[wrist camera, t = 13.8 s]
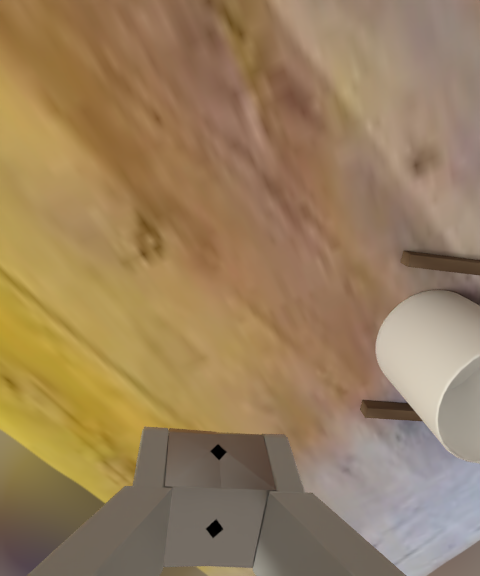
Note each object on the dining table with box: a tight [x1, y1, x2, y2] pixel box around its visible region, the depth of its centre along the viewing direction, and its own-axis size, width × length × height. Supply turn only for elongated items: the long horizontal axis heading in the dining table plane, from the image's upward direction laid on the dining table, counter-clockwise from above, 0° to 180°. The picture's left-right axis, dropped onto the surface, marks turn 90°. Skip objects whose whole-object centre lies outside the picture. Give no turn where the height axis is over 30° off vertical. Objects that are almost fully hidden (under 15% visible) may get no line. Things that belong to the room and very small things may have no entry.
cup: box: [376, 290, 480, 463], centre depth 39 cm, size 12×12×12 cm
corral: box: [360, 251, 480, 421], centre depth 44 cm, size 20×13×3 cm, turn 172°
